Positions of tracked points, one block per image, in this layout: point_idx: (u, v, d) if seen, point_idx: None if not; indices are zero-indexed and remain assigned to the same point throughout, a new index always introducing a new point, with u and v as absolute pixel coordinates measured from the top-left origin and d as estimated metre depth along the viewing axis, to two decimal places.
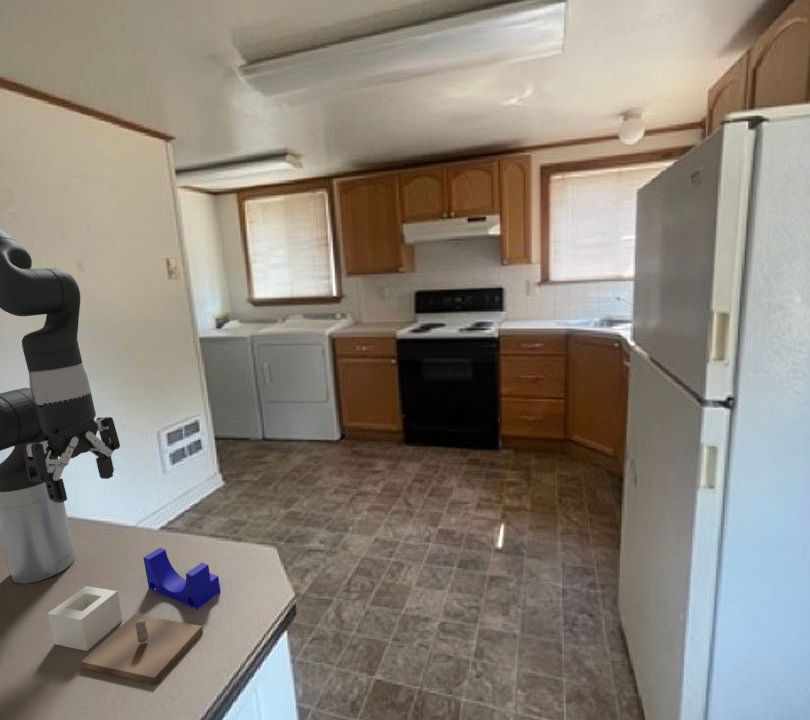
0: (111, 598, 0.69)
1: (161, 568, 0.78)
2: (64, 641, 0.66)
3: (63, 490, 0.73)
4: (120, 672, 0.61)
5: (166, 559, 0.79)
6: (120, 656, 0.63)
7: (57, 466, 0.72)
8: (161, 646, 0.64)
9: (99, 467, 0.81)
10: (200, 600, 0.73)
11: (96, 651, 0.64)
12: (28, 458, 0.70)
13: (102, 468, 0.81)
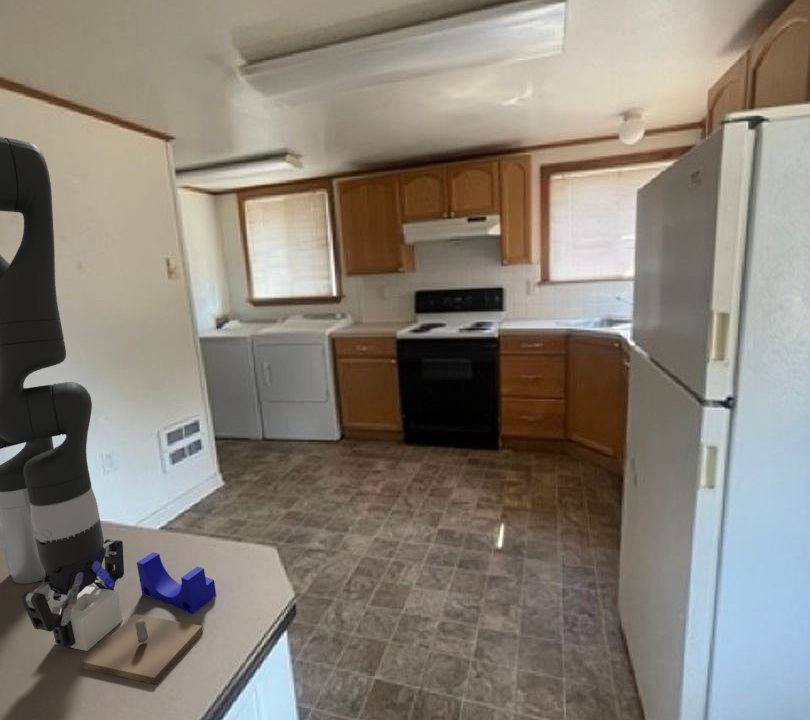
0: (111, 598, 0.69)
1: (155, 572, 0.77)
2: None
3: (72, 634, 0.65)
4: (120, 672, 0.61)
5: (160, 564, 0.78)
6: (120, 656, 0.63)
7: (64, 610, 0.64)
8: (161, 646, 0.64)
9: None
10: (196, 604, 0.72)
11: (96, 651, 0.64)
12: (30, 609, 0.61)
13: None
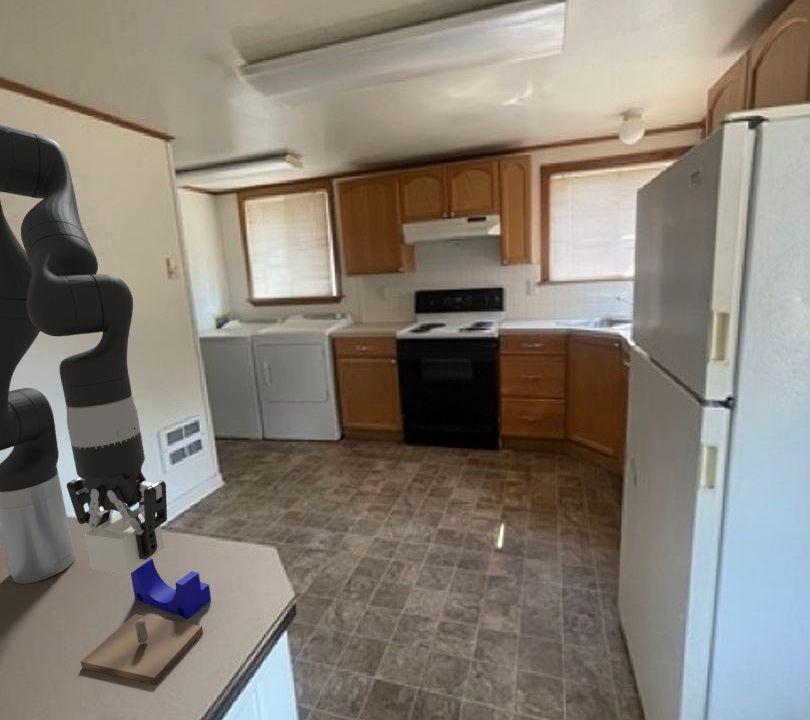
0: (115, 541, 0.58)
1: (148, 578, 0.76)
2: None
3: None
4: (120, 672, 0.61)
5: (153, 568, 0.77)
6: (120, 656, 0.63)
7: (91, 514, 0.61)
8: (161, 646, 0.64)
9: None
10: (190, 610, 0.71)
11: (96, 651, 0.64)
12: None
13: None
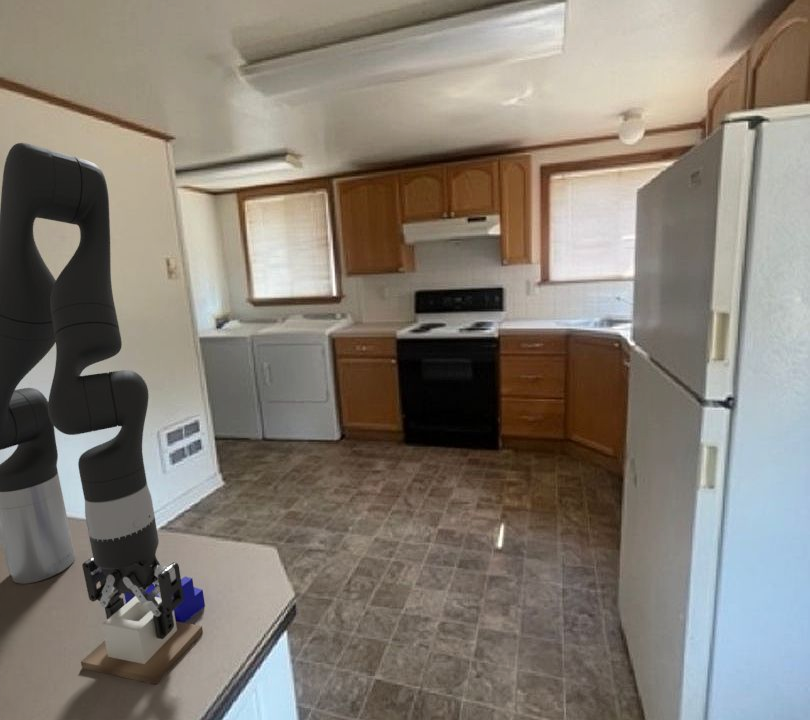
0: (132, 632, 0.61)
1: None
2: None
3: None
4: (120, 672, 0.61)
5: None
6: None
7: None
8: None
9: None
10: (184, 616, 0.70)
11: (96, 651, 0.64)
12: None
13: None
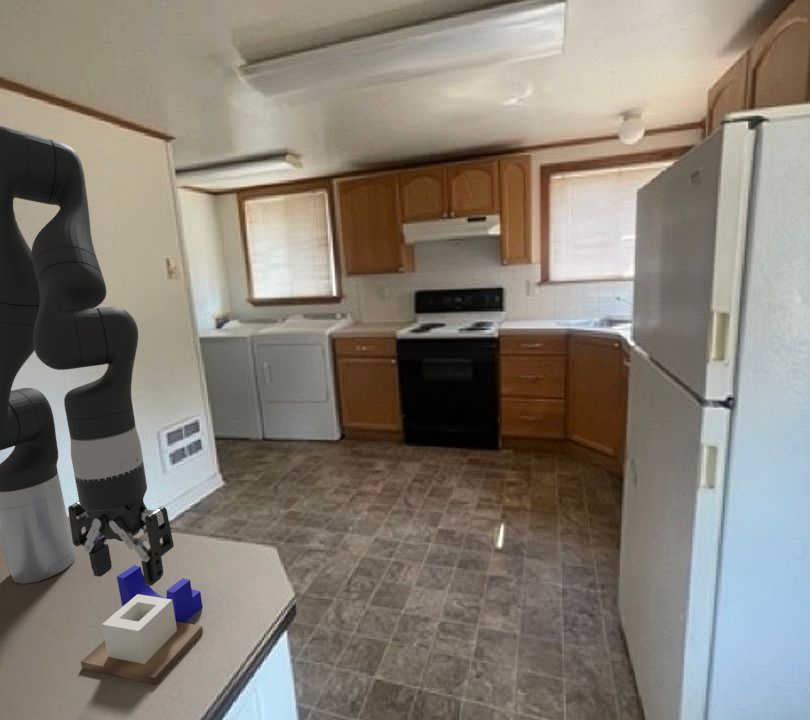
0: (132, 632, 0.61)
1: (136, 586, 0.73)
2: None
3: (94, 565, 0.63)
4: (120, 672, 0.61)
5: (141, 577, 0.75)
6: None
7: None
8: None
9: None
10: (182, 618, 0.70)
11: (96, 651, 0.64)
12: None
13: None
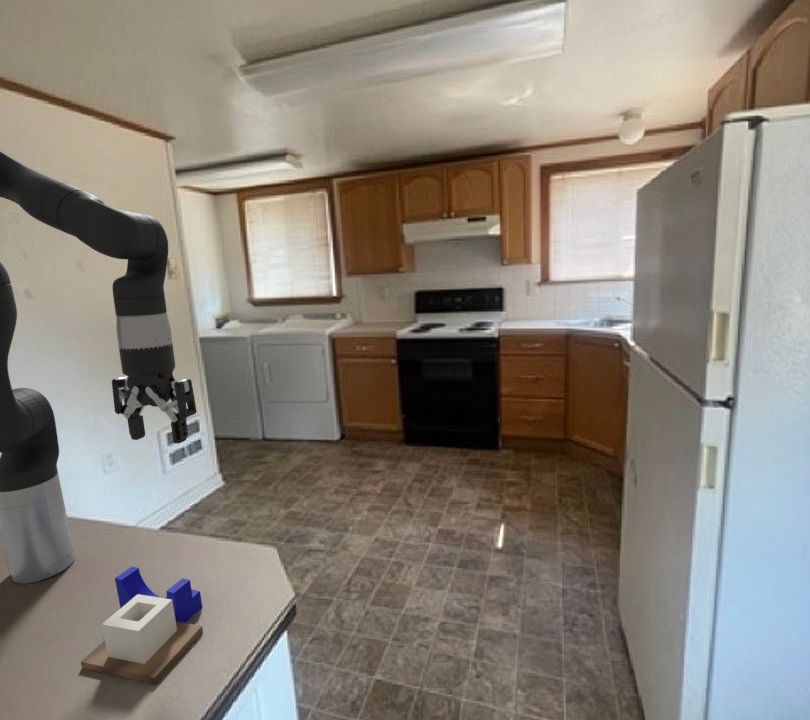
0: (132, 632, 0.61)
1: (135, 588, 0.73)
2: None
3: (131, 429, 0.77)
4: (120, 672, 0.61)
5: (140, 578, 0.74)
6: None
7: (127, 406, 0.76)
8: None
9: None
10: (182, 618, 0.70)
11: (96, 651, 0.64)
12: None
13: None
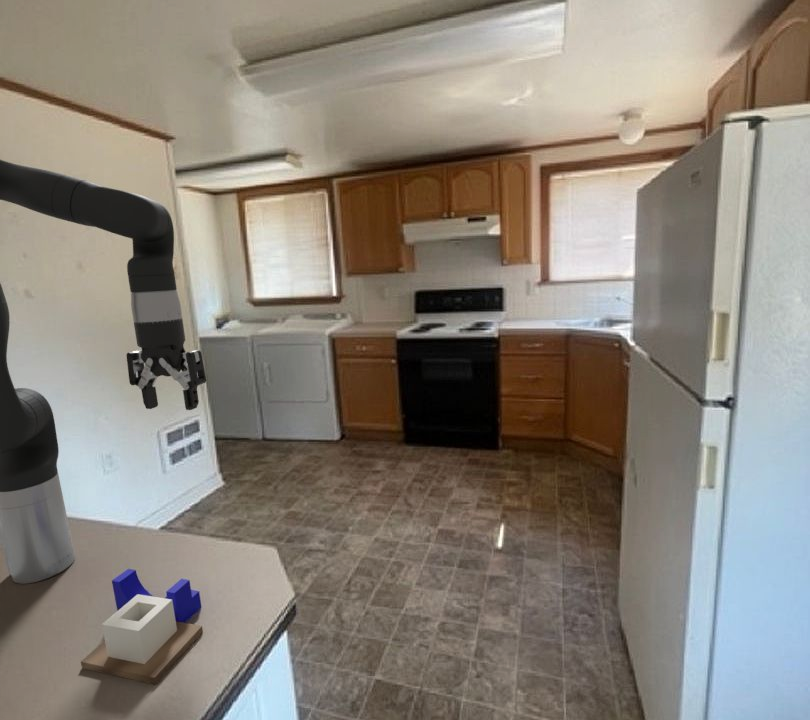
0: (132, 632, 0.61)
1: (132, 590, 0.73)
2: None
3: (146, 399, 0.83)
4: (120, 672, 0.61)
5: (137, 580, 0.74)
6: None
7: (141, 377, 0.82)
8: None
9: None
10: (182, 618, 0.70)
11: (96, 651, 0.64)
12: None
13: None
